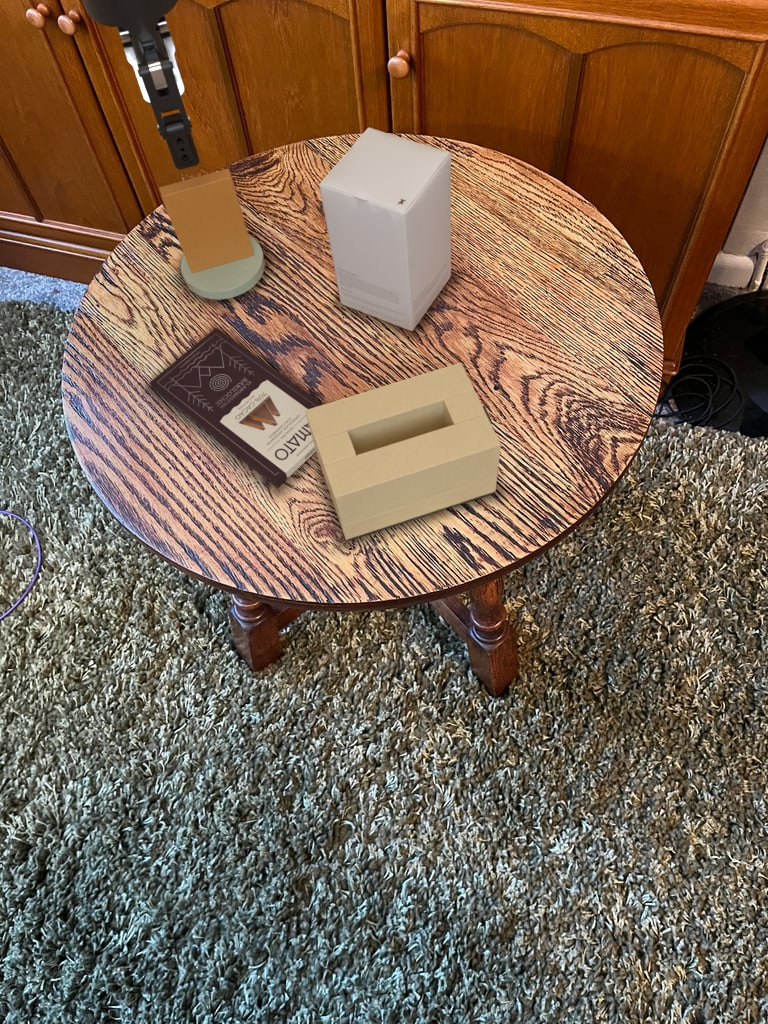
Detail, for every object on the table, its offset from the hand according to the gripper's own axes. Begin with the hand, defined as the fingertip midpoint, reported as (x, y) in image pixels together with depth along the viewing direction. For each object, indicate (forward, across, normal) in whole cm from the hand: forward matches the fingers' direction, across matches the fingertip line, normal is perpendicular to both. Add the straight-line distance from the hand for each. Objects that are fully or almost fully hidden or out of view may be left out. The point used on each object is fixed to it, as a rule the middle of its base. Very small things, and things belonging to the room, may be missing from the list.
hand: (179, 136), depth 70 cm
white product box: (+16, +10, +17) cm, 25 cm away
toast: (+15, 0, 0) cm, 15 cm away
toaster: (+16, +32, +10) cm, 37 cm away
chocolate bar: (+16, +19, -2) cm, 25 cm away
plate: (+16, 0, 0) cm, 16 cm away
